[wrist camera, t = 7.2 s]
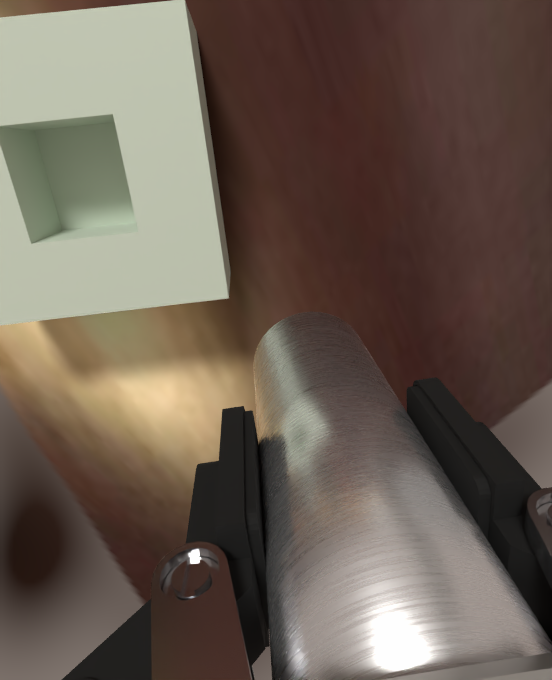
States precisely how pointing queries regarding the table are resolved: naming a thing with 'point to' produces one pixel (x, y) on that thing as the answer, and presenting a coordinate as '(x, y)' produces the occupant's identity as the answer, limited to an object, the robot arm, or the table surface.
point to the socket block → (106, 165)
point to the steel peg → (367, 525)
